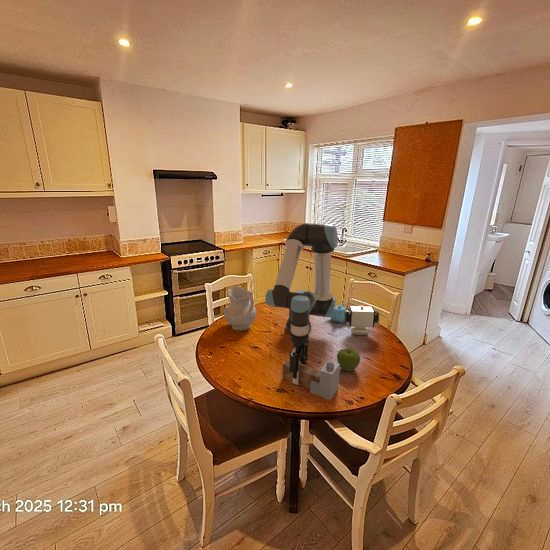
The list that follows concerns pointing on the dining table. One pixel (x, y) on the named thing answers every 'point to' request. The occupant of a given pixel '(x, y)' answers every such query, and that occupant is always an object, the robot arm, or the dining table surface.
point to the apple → (348, 359)
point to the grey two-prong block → (327, 381)
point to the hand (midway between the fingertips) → (298, 380)
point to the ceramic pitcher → (240, 308)
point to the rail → (301, 374)
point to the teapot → (338, 313)
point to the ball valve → (361, 319)
